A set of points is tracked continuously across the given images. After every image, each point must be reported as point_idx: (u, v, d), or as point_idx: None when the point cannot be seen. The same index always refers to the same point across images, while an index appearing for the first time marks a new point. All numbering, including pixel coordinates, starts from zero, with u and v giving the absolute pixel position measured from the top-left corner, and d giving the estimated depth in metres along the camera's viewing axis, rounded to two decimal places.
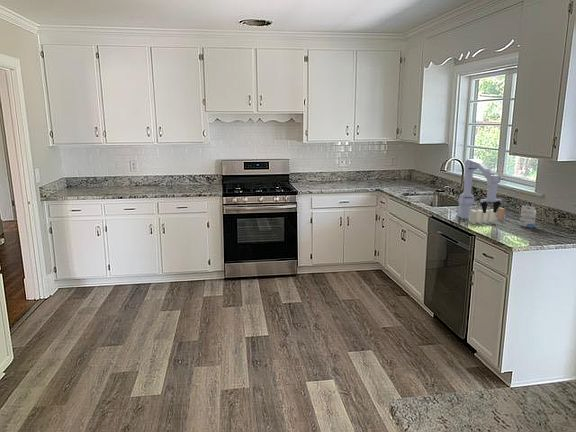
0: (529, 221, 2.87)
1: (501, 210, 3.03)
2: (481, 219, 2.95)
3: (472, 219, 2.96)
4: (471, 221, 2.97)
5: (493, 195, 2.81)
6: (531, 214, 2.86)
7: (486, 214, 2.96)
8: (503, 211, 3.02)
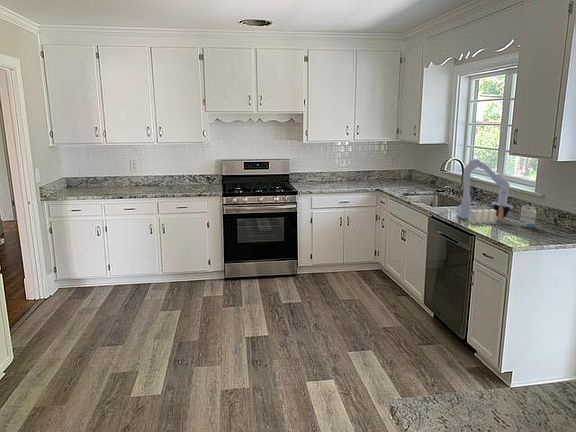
0: (529, 221, 2.87)
1: (501, 210, 3.03)
2: (481, 219, 2.95)
3: (472, 219, 2.96)
4: (471, 221, 2.97)
5: (500, 200, 3.02)
6: (531, 214, 2.86)
7: (486, 214, 2.96)
8: (503, 211, 3.02)
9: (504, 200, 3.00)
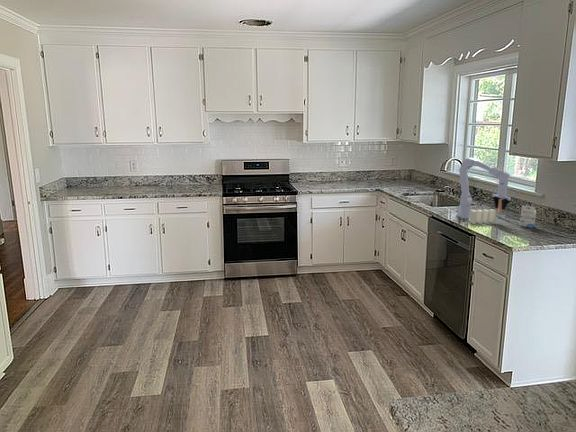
0: (529, 221, 2.87)
1: (500, 202, 2.96)
2: (481, 219, 2.95)
3: (472, 219, 2.96)
4: (471, 221, 2.97)
5: (498, 191, 2.95)
6: (531, 214, 2.86)
7: (486, 214, 2.96)
8: None
9: (502, 192, 2.93)
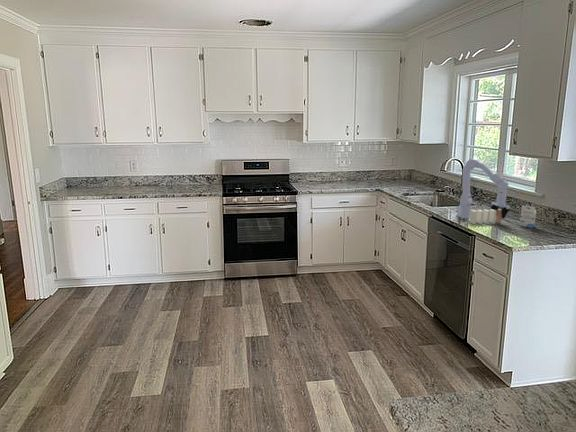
0: (529, 221, 2.87)
1: (499, 212, 2.98)
2: (481, 219, 2.95)
3: (472, 219, 2.96)
4: (471, 221, 2.97)
5: (497, 199, 2.97)
6: (531, 214, 2.86)
7: (486, 214, 2.96)
8: (500, 213, 2.97)
9: (501, 200, 2.94)
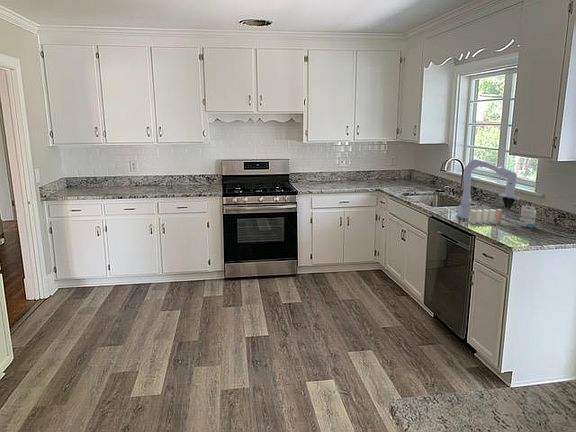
0: (529, 221, 2.87)
1: (499, 212, 2.98)
2: (481, 219, 2.95)
3: (472, 219, 2.96)
4: (471, 221, 2.97)
5: (506, 191, 2.96)
6: (531, 214, 2.86)
7: (486, 214, 2.96)
8: (500, 213, 2.97)
9: (511, 191, 2.94)
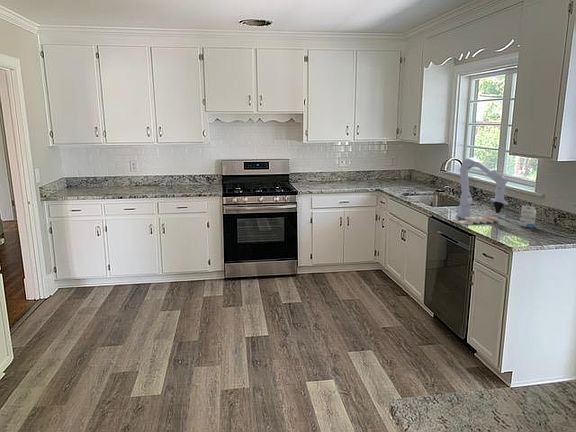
0: (529, 221, 2.87)
1: (487, 218, 3.00)
2: (475, 221, 2.95)
3: None
4: None
5: (495, 195, 2.96)
6: (531, 214, 2.86)
7: (477, 220, 2.96)
8: (489, 218, 2.98)
9: (499, 196, 2.94)
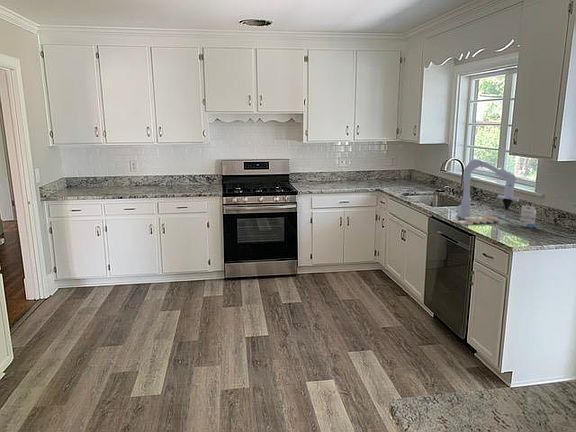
0: (529, 221, 2.87)
1: (487, 218, 3.00)
2: (475, 221, 2.95)
3: None
4: None
5: (506, 192, 2.99)
6: (531, 214, 2.86)
7: (477, 220, 2.96)
8: (489, 218, 2.98)
9: (510, 193, 2.97)
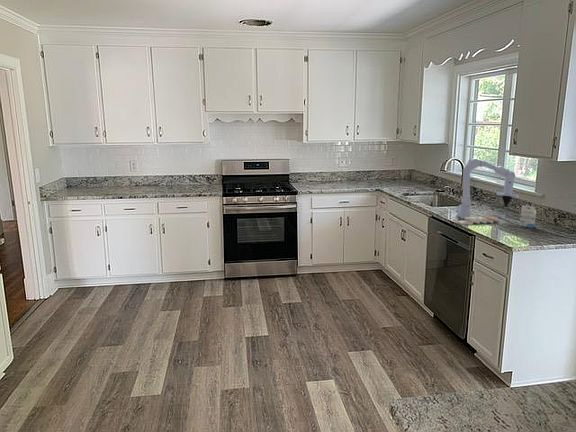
0: (529, 221, 2.87)
1: (487, 218, 3.00)
2: (475, 221, 2.95)
3: None
4: None
5: (505, 189, 3.01)
6: (531, 214, 2.86)
7: (477, 220, 2.96)
8: (489, 218, 2.98)
9: (510, 190, 3.00)
